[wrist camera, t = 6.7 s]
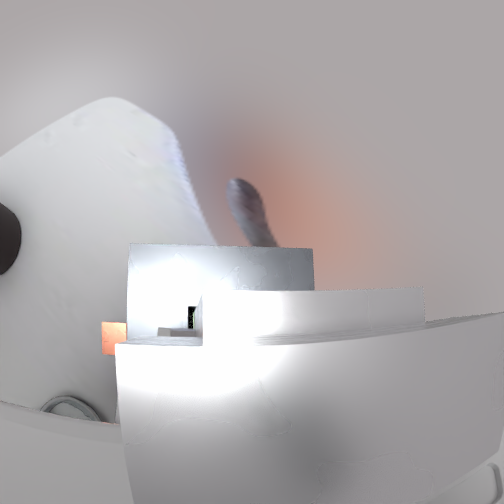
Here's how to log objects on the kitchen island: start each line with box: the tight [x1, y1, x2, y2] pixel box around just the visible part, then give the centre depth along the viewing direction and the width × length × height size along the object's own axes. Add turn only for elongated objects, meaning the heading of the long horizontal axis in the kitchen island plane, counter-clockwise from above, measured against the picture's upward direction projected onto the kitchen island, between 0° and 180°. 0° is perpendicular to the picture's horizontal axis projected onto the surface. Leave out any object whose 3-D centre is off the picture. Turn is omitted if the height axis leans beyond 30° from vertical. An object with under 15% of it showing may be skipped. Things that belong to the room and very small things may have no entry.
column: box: [115, 287, 504, 504], centre depth 13 cm, size 5×4×21 cm
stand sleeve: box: [102, 243, 314, 355], centre depth 21 cm, size 14×12×6 cm
